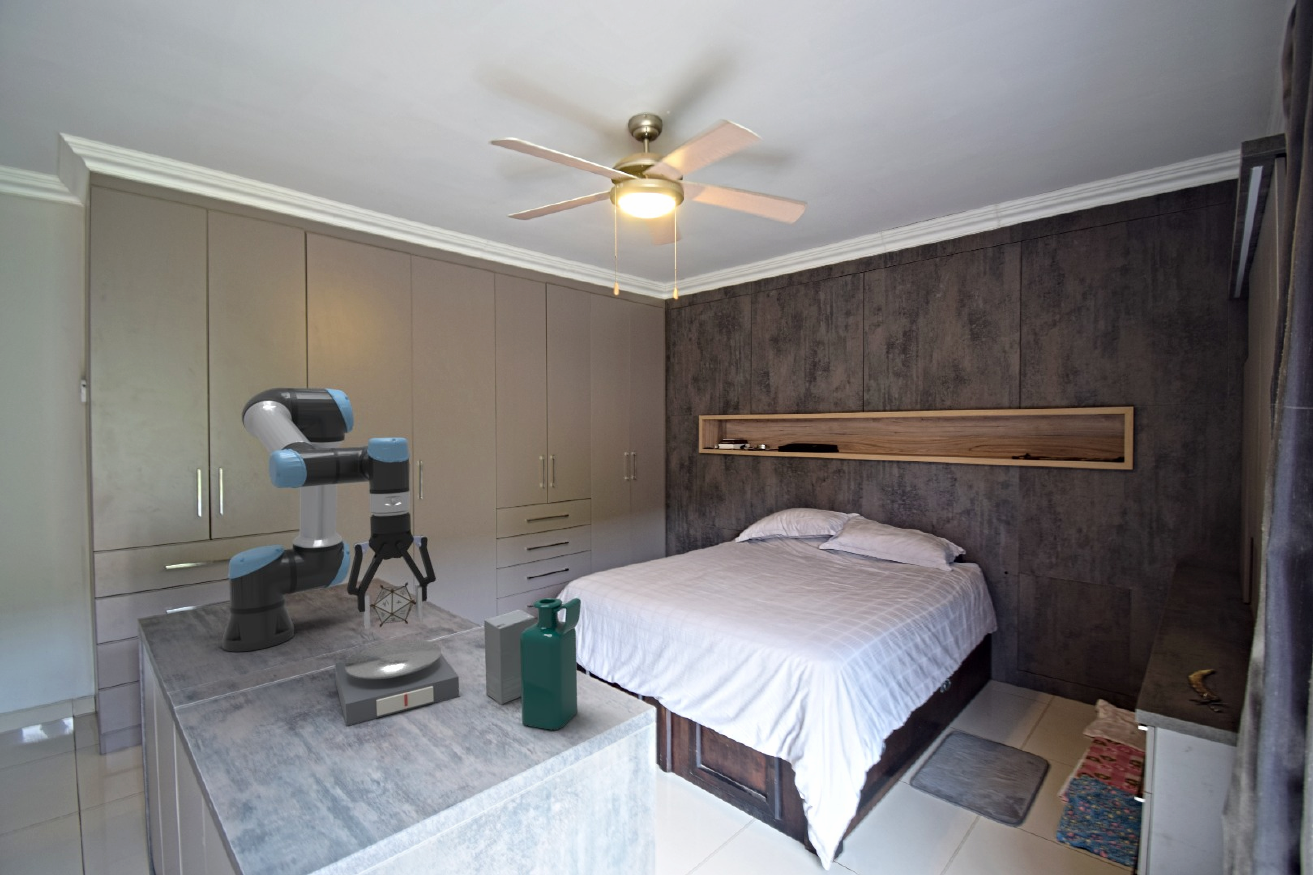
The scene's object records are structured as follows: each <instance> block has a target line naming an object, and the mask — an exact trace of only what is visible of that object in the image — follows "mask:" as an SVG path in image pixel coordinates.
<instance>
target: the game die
mask: <svg viewBox="0 0 1313 875" xmlns="http://www.w3.org/2000/svg"><path fill="white" fill-rule="evenodd" d="M408 585H409V582H405V584H404V585H399V586H398V585H397V586H389V587H388V586H387V587H384V586H383V585H382V584H380V588H381V590H380V591H379V593H378V595H377V598H376V600H375V601H374V604H373V603H372V604H369V606H370V608H373V609H374V610H375V611H376V614H377V617H378V618H379V620H380V622H381V623H380V624H379V628H382V626H383V624H392V623H398V622H399V623H400V622H404V623H405V624H406V625H409V622H408V620H407V619H408V616H409V614H410V613H411V610H412V608H413V605H415V606H416V599H412V596H411V594H410V591H409V590H408V587H407V586H408Z"/></svg>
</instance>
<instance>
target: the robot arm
mask: <svg viewBox="0 0 1313 875" xmlns="http://www.w3.org/2000/svg"><path fill="white" fill-rule="evenodd" d="M241 423H242V425H243V427H244V429H245V430H246V432H248V433H249V435H251V436H253V437H254V438H256V439H258V440H259V441H260V442H261V444H262V445H263V446H264V448H265V449H266V451H267V452H268V454H269V455H270V456H269V460H268V474H269V478H270V482H271V484H272V486H273V487H276V488H279V489H283V488H284V489H285V488H289V489H298V488H299V533H298V535H297V536H296V537H294V539H293V540H292V548H287V549H285V548H284V546H283V545H282V544H271V545H265V546H263V545H262V546H258V547H253V548H250V549H248V550H244V551H241V552H239V553H237V554H235V555H233V556H232V557H231V558H230V560H229V563H228V574H227V578H228V583H229V584H228V585H229V586H228V587H229V589H228V590H229V610H230V611H229V613H230V614H229V618H228V620H227V624H226V627H225V630H224V632H223V636H222V641H221V642H222V649H223V650H224V651H228V652H236V653H237V652H249V651H256V650H263V649H267V648H271V647H274V646H276V645H280V644H283V643H285V642H287V641H289V640H291V639H293V637H294V636H295V627H294V623H293V621H292V619H291V616H290V613H289V611H288V610H287V607H286V595H293V594H298V593H303V592H308V591H314V590H319V589H320V590H321V589H329V587H333V586H338V585H340V584H342V583H343V581H345V579H347V577H348V574H349V578H348V582H347V587H346V592H347V594H348V595H350V596H356V597H357V598H356V602H357V609H358V612H359V613H363V625H364V627H365V630H368V629H371V615H370V614H371V613H370V612H371V611H370V610H371V609H370V608H371V606H370V595H369V594H368V592H367V591H368V589H369V587H370V585H371V582H372V581H373V579H374V576H375V575H376V573H377V571H378V569H379V567H380V565H381V564H382V563H383V560H384V561H387V560H391V559H401V558H402V559H403V560H404V562H405V563H406V565H407V566H408V568H409V569H410V571H411V573H412V574H413V576H414V578H415V579H416V581H417V582H418V583H419V584H415V586H414V588H415V589H414V593H415V595H414V596H415V602H416V605H415V617H416V618H417V619H418V620H422V619H423V602H427V600H428V586H429V584H431V583H434V582H435V581H436V580H437V578H436V574H435V571H434V568H433V564H432V560H431V557H430V553H429V550H428V538H427V536H425V535H423V534H421V535H420V536H414V535H413V534H412V524H411V523H412V522H411V521H412V520H411V513H410V512H408V511H409V510H411V496H410V494H411V492H410V454H411V453H410V452H409V443H408V439H406V438H404V437H374V438H373V437H372V438H370V439H369V440H368V443H367V444H368V445H367V446H366V445H362V446H356V447H354V446H352V447H351V446H350V447H349V446H347V447H340V445H342V443H343V442H344V441H345V438H346V437H345V436H346V434H349V433H351V432H353V427H354V423H355V422H354V412H353V408H352V404H351V400H350V399H349V397H348V395H347V394H346V393H345V392H344V391H343V390H340V389H334V388H326V387H325V388H324V387H323V388H321V387H320V388H317V387H315V388H313V387H299V388H298V387H273V388H269V389H266V390H263V391H260V392H258V393H257V394H255V395H254V396H252V397H251V398H250V399H248V401H247V402H246V403H245V404H244V406H243V408H242V411H241ZM355 483H369V484H368V486H369V512H370V513H372V515H371V516H370V517H369V519H370V521H369V523H370V524H369V525H370V537H369V540H368V541H365V542H360V543H359V542H355V543H354V544H353V552H354V557H353V560H352V561H353V562H352V565H351V554H350V553H351V550H350V546H349V544H348V543H347V542H346V541H343V537H342V536H341V535H340V534H339V532H337V516H338V515H337V514H338V512H337V510H338V506H337V505H338V485H341V484H355ZM413 543H414V544H415V546H416V547H418V551H419V553H420V557H421V561H422V563H423V564H422V565H423V568H424V571H425V574H426V576H425V577H424V575H423V574H422V572H421V571H420V569H419V567H418V566H417V564H416V563H415V561H414V559H413V558H412V556H411V554H410V553H409V549H410V547H411V546H412V544H413ZM369 548H370V549H371V550H372V551H373V552H374V555H373V557H372V559H371V561H370V564H369V566H368V567H367V569H366V572H365V573H364V575H363V578H362V580H361V582H360V583H359V585H358V587H357V583H358V581H359V576H360V570H361V568H362V563H363V559H364V558H363V557H364V556H363V555H364V554H366V553H367V550H368V549H369ZM350 566H351V567H350ZM350 568H351V570H350ZM349 571H350V573H349Z"/></svg>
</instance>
